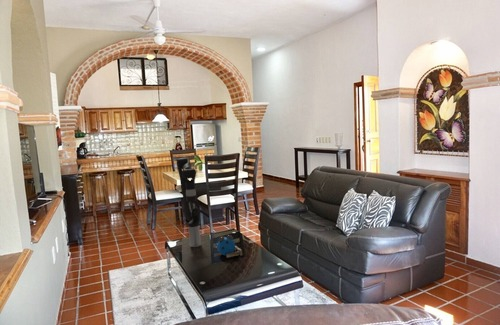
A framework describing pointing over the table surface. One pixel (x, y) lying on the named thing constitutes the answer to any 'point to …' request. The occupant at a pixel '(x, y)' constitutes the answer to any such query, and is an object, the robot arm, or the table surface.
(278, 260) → the table surface
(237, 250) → the wooden staple shape
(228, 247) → the alarm clock
